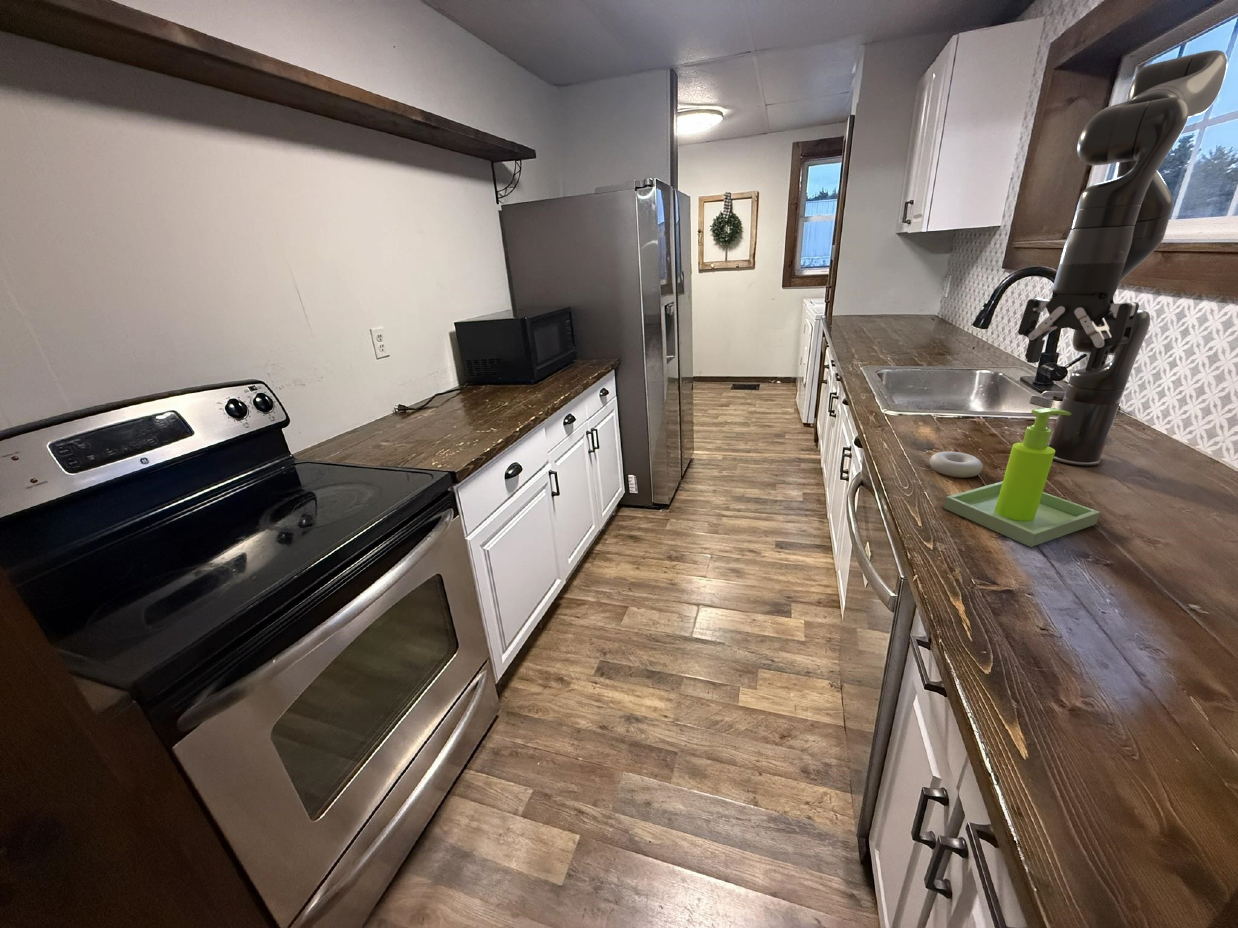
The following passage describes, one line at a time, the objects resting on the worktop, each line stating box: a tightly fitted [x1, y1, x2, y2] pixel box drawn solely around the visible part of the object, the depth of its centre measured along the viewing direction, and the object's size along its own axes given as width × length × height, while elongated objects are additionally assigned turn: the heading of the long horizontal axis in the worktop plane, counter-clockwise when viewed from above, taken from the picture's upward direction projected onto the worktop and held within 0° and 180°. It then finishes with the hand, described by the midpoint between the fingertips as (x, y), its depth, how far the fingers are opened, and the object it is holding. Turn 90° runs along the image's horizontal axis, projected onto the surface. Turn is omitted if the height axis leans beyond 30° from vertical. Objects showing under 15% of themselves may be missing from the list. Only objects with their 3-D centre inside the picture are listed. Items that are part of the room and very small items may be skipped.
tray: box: [943, 480, 1101, 548], centre depth 92 cm, size 18×16×2 cm
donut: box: [929, 450, 984, 479], centre depth 111 cm, size 10×4×10 cm
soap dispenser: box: [995, 407, 1072, 521], centre depth 88 cm, size 6×7×20 cm
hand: (1060, 366), depth 82 cm, fingers open, 8 cm apart
